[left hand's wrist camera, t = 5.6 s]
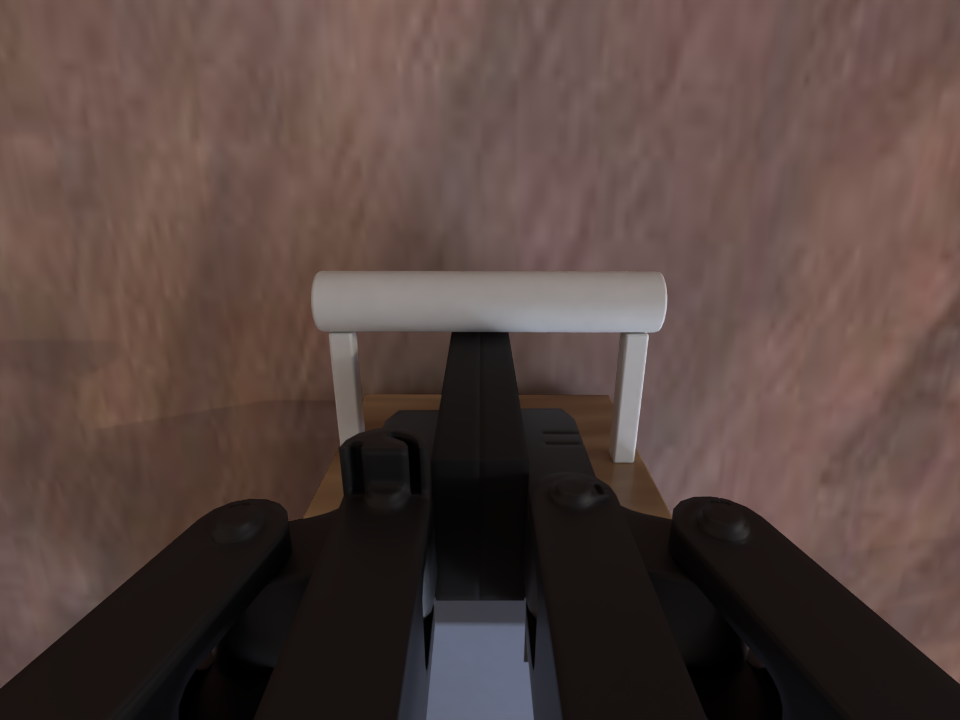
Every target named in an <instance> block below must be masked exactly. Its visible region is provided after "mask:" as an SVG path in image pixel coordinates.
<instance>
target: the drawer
mask: <svg viewBox="0 0 960 720" xmlns="http://www.w3.org/2000/svg"><path fill="white" fill-rule="evenodd" d="M311 308H312V314H313V319H314V322H315V325H316V327H317V328H318V329H319V330H320V331H323V332H330V333H329V345H330V354H331V364H332V373H333V383H334V392H335V402H336V411H337V420H338V430H339V439H340V446H341V445H342V444H343V443H344V442H345V441H346V440H347V439H349V438H351V437H352V436H354V435H356V434H358V433H361V432H365V431H368V430H372V429H379V428H383V426H384V423H385V421H386V420H387V419H388V418H390V417H391V416H392V415H393V414H395V413H396V412H397V411H398V410H439V407H440V401H441V395H442V394H366V395H365V397H364V399H363V401H362V392H361V380H360V369H359V357H358V346H357V334H356V332H620V342H619V353H618V363H617V373H616V383H615V393H614V404H613V403H612V401H611V399H610V397H609V396H608V395H519V401H520V407H521V408H561V409H563V410H564V411H565V412H566V413H568V414H569V415H570V416H571V417H573V418H574V419H575V421H576V424H577V427H578V429H579V434H580V435H581V438H582V440H583V445H584V446H585V448H586V451H587V454H588V457H589V459H590V462H591V465H592V467H593V470H594V473H595V476H596V478H598V479H600V480H601V481H603V482H604V483H606V484H608V485H609V486H610V487H611V489H612V490H613V491H614V493H615V494H616V495H617V498H618V500H619V503H620V505H621V506H623V507H626V508H628V509H630V510H633V511H637V512H640V513H644V514H648V515H653V516H658V517H663V518H668V519H672V515H671V513H670V512H669V510H668V508H667V506H666V504H665V502H664V500H663V498H662V496H661V494H660V492H659V491H658V489H657V487H656V485H655V483H654V481H653V479H652V477H651V475H650V473H649V471H648V470H647V468H646V466H645V464H644V462H643V460H642V458H641V456H640V454H639V452H638V450H637V448H636V440H637V431H638V423H639V414H640V406H641V397H642V389H643V380H644V372H645V363H646V355H647V346H648V338H649V336H648V334H647V333H646V332H657V331H659V330H660V329H661V327H662V325H663V322H664V319H665V315H666V309H667V289H666V283H665V280H664V277H663V275H662V274H661V273H659V272H657V271H319V272H317V273H316V275H315V277H314V279H313V283H312V289H311ZM340 446H339V447H340ZM343 496H344V494H343V484H342V475H341V465H340V456H339V448H338V450H337V452H336V454H335V456H334V458H333V460H332V462H331V464H330V466H329V468H328V470H327V472H326V474H325V476H324V478H323V480H322V482H321V484H320V486H319V488H318V490H317V492H316V493H315V495H314V497H313V499H312V501H311V503H310V505H309V507H308V509H307V511H306V513H305V515H304V517H303V519H304V518H309V517H314V516H317V515H321V514H325V513H328V512H331V511H333V510H335V509H337V508H339V506H340V504H341V501H342V499H343ZM435 597H436V593H435ZM524 598H526V595H525V593H524Z"/></svg>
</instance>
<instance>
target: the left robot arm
mask: <svg viewBox="0 0 960 720" xmlns="http://www.w3.org/2000/svg"><path fill="white" fill-rule="evenodd" d="M339 456H340V465H341V475H342V484H343V494H344V496H343V499H342V501H341V504H340V506H339V508H337V509H335V510H333V511H331V512H328V513H325V514H321V515H317V516H314V517H309V518H304V519H299V520H294V521H289V522H288V515H287V511H286V510H285V509H284V508H283V507H282V506H281V505H280V504H279V503H276V502H273V501H270V500H267V499H248V500H242V501H236V502H231V503H229V504H227V505H224V506H222V507H219V508H216V509H214V510H212V511H211V512H209V513H208V514H206V515H205V516H203V517H202V518H200V519H199V520H197V521H196V522H195V523H194V524H193V525H192V526H190V527H189V528H188V529H187V530H186V531H185V532H183V533H182V534H181V535H180V536H179V537H177V538H176V539H175V540H174V541H173V542H172V543H170V544H169V545H168V546H167V547H166V548H165V549H163V550H162V551H161V552H160V553H159V554H158V555H156V556H155V557H154V558H153V559H152V560H151V561H149V562H148V563H147V564H146V565H145V566H144V567H142V568H141V569H140V570H139V571H138V572H136V573H135V574H134V575H133V576H132V577H131V578H129V579H128V580H127V581H126V582H125V583H124V584H122V585H121V586H120V587H119V588H118V589H117V590H115V591H114V592H113V593H112V594H111V595H110V596H108V597H107V598H106V599H105V600H104V601H103V602H101V603H100V604H99V605H98V606H97V607H95V608H94V609H93V610H92V611H91V612H90V613H88V614H87V615H86V616H85V617H84V618H83V619H81V620H80V621H79V622H78V623H77V624H76V625H74V626H73V627H72V628H71V629H70V630H69V631H67V632H66V633H65V634H64V635H63V636H62V637H60V638H59V639H58V640H57V641H56V642H54V643H53V644H52V645H51V646H50V647H49V648H47V649H46V650H45V651H44V652H43V653H42V654H40V655H39V656H38V657H37V658H36V659H35V660H33V661H32V662H31V663H30V664H29V665H28V666H26V667H25V668H24V669H23V670H22V671H21V672H19V673H18V674H17V675H16V676H15V677H13V678H12V679H11V680H10V681H9V682H8V683H6V684H5V685H4V686H3V687H2V688H1V689H0V720H426V717H427V706H428V696H429V685H430V674H431V664H432V653H433V642H434V631H435V616H434V598H435V593H436V601H524V593H525V595H526V616H525V642H524V662H528V663H529V674H530V684H531V695H532V706H533V716H534V720H960V684H959V683H958V682H956V681H955V680H954V679H953V678H952V677H951V676H949V675H948V674H947V673H946V672H945V671H943V670H942V669H941V668H940V667H939V666H938V665H936V664H935V663H934V662H933V661H932V660H930V659H929V658H928V657H927V656H926V655H925V654H923V653H922V652H921V651H920V650H919V649H917V648H916V647H915V646H914V645H913V644H912V643H910V642H909V641H908V640H907V639H906V638H904V637H903V636H902V635H901V634H900V633H899V632H897V631H896V630H895V629H894V628H893V627H891V626H890V625H889V624H888V623H887V622H886V621H884V620H883V619H882V618H881V617H880V616H878V615H877V614H876V613H875V612H874V611H873V610H871V609H870V608H869V607H868V606H867V605H865V604H864V603H863V602H862V601H861V600H860V599H858V598H857V597H856V596H855V595H854V594H852V593H851V592H850V591H849V590H848V589H847V588H845V587H844V586H843V585H842V584H841V583H839V582H838V581H837V580H836V579H835V578H834V577H832V576H831V575H830V574H829V573H828V572H826V571H825V570H824V569H823V568H822V567H821V566H819V565H818V564H817V563H816V562H815V561H813V560H812V559H811V558H810V557H809V556H808V555H806V554H805V553H804V552H803V551H802V550H800V549H799V548H798V547H797V546H796V545H795V544H793V543H792V542H791V541H790V540H789V539H787V538H786V537H785V536H784V535H783V534H782V533H780V532H779V531H778V530H777V529H776V528H774V527H773V526H772V525H771V524H770V523H769V522H767V521H766V520H765V519H764V518H763V517H761V516H760V515H758V514H757V513H755V512H754V511H752V510H751V509H749V508H747V507H745V506H743V505H740V504H738V503H735V502H733V501H730V500H727V499H723V498H718V497H692V498H689V499H686V500H683V501H681V502H680V503H679V504H678V505H677V506H676V507H675V508H674V509H673V515H672V519H668V518H663V517H658V516H653V515H648V514H644V513H640V512H637V511H633V510H630V509H628V508H626V507H623V506H621V505H620V503H619V500H618V498H617V495H616V494H615V493H614V491H613V490H612V489H611V487H610V486H609V485H608V484H606V483H604V482H603V481H601V480H600V479H598V478H596V476H595V473H594V470H593V467H592V465H591V462H590V459H589V457H588V454H587V451H586V448H585V446H584V445H583V440H582V438H581V435H580V434H579V429H578V427H577V424H576V421H575V419H574V418H573V417H571V416H570V415H569V414H568V413H566V412H565V411H564V410H563V409H561V408H521V407H520V401H519V395H518V389H517V383H516V377H515V371H514V364H513V358H512V352H511V346H510V340H509V334H508V332H452V334H451V340H450V346H449V352H448V358H447V364H446V371H445V377H444V383H443V389H442V395H441V401H440V407H439V410H398V411H397V412H396V413H395V414H393V415H392V416H391V417H390V418H388V419H387V420H386V421H385V423H384V426H383V428H379V429H372V430H368V431H365V432H361V433H358V434H356V435H354V436H352V437H351V438H349V439H347V440H346V441H345V442H344V443H343V444H342V445H341V446H340V447H339Z"/></svg>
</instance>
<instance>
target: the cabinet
mask: <svg viewBox="0 0 960 720" xmlns="http://www.w3.org/2000/svg"><path fill="white" fill-rule="evenodd" d="M434 616H435V631H434V642H433V653H432V664H431V674H430V685H429V696H428V706H427V717H426V720H534V716H533V706H532V695H531V684H530V674H529V663H528V662H524V642H525V616H526V598H524V601H436V597H435V598H434Z"/></svg>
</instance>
